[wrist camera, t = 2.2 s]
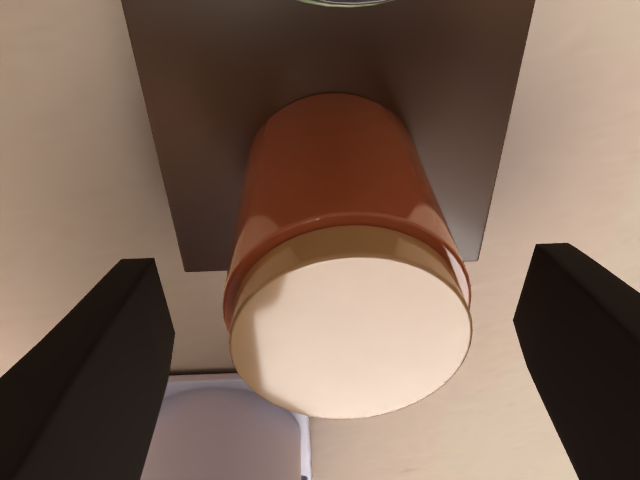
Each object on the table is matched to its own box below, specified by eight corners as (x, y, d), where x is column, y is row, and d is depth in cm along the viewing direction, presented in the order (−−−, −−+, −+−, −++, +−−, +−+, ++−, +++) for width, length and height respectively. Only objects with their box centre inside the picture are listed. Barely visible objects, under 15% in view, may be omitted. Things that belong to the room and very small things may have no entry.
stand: (461, 224, 17) (478, 261, 16) (194, 234, 17) (184, 272, 15) (584, -440, 9) (648, -507, 7) (57, -434, 9) (1, -502, 7)
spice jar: (409, 241, 15) (463, 421, 10) (253, 247, 15) (233, 431, 10) (427, 89, 12) (511, 237, 7) (235, 94, 12) (195, 249, 7)
